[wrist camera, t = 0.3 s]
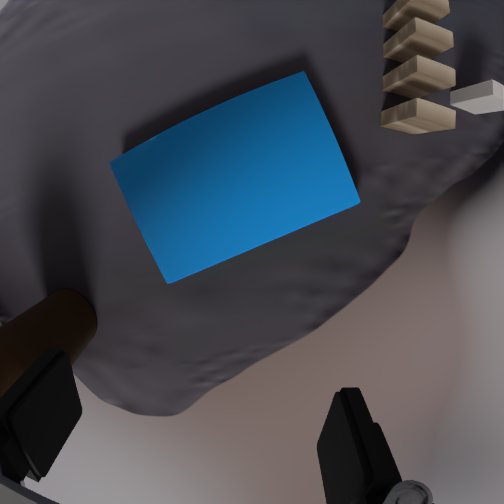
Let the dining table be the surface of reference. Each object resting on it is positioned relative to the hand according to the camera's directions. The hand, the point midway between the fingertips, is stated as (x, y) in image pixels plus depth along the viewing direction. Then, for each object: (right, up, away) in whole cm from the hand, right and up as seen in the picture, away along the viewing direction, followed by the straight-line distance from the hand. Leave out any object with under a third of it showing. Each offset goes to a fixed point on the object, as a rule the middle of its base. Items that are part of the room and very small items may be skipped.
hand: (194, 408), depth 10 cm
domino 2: (+22, +31, +23) cm, 45 cm away
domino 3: (+21, +27, +24) cm, 42 cm away
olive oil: (-26, -5, +34) cm, 43 cm away
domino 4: (+21, +22, +26) cm, 40 cm away
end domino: (+32, +27, +24) cm, 48 cm away
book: (0, +14, +29) cm, 32 cm away
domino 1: (+22, +36, +22) cm, 48 cm away
